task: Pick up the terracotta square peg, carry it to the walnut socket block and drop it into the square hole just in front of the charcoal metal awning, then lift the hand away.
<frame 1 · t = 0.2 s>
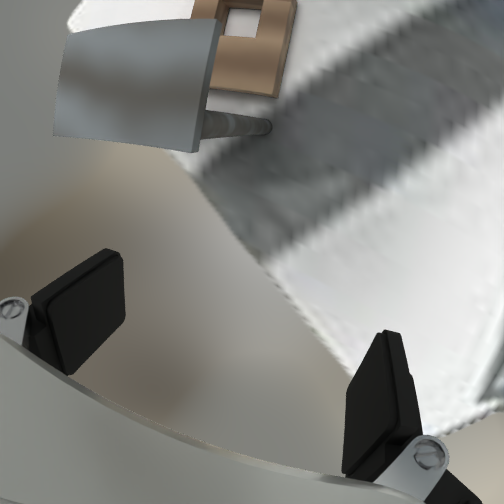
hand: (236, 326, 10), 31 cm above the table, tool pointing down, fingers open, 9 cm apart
socket block: (242, 42, 33), on the table
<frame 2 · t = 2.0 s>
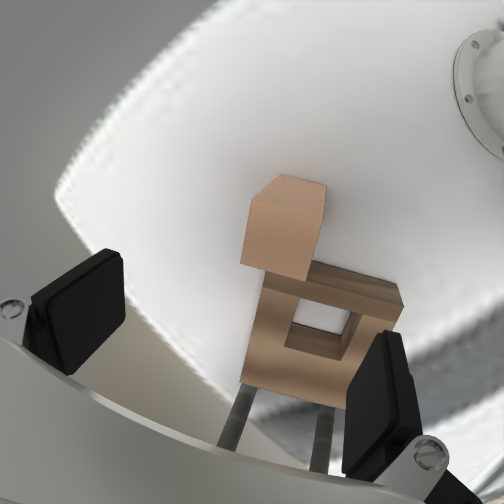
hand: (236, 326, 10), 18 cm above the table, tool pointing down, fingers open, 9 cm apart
socket block: (316, 327, 31), on the table
peg: (298, 201, 26), on the table
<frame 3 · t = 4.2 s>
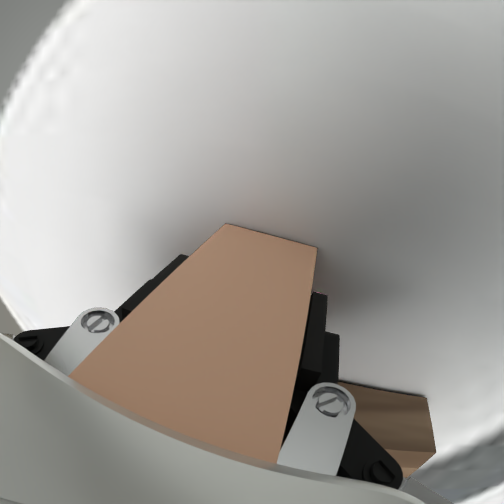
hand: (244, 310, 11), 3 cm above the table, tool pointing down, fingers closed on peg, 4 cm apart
socket block: (297, 443, 18), on the table
peg: (261, 276, 14), on the table, touching gripper
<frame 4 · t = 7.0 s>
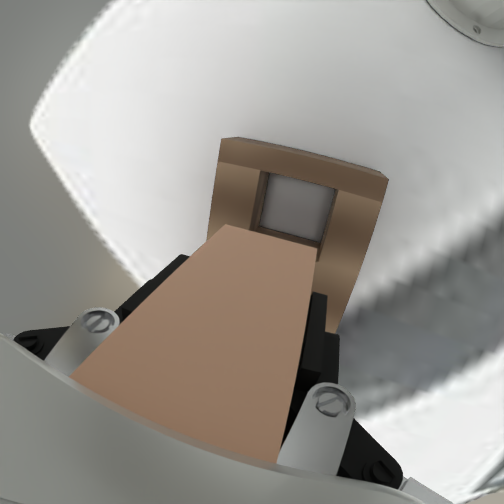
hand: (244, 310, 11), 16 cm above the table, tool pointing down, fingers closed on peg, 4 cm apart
socket block: (290, 231, 26), on the table
peg: (261, 277, 14), point 13 cm above the table, touching gripper
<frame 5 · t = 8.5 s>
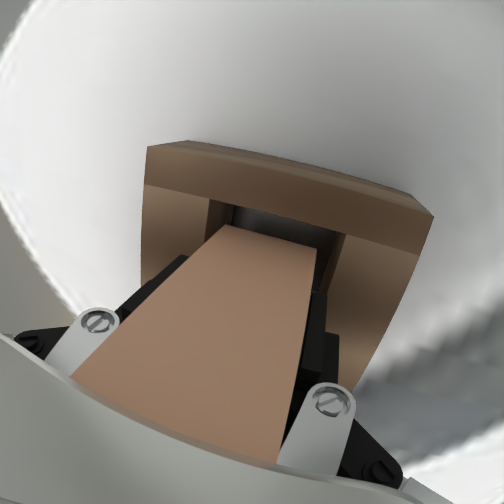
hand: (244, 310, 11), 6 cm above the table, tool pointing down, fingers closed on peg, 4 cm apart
socket block: (269, 282, 18), on the table
peg: (261, 277, 14), point 4 cm above the table, touching gripper
when the fingers open (5 cm above the table, at t = 9.9 s): peg drops 2 cm, resting in socket block.
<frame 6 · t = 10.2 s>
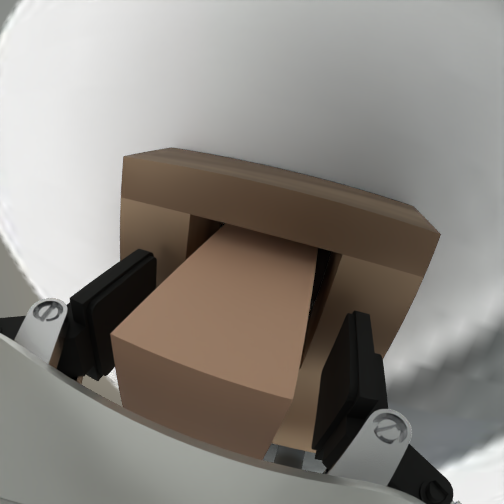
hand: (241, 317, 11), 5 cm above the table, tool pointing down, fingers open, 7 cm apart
socket block: (260, 300, 16), on the table
peg: (270, 258, 15), resting in socket block
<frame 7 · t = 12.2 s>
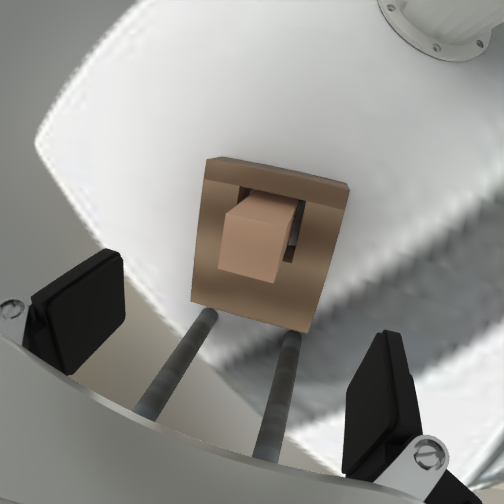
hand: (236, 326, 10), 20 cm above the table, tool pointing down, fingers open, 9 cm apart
socket block: (269, 238, 30), on the table
peg: (274, 213, 30), resting in socket block
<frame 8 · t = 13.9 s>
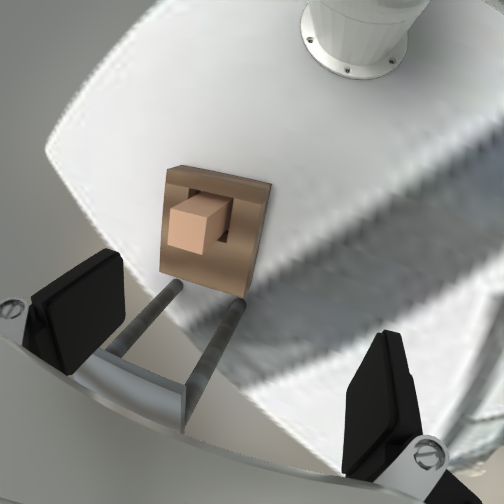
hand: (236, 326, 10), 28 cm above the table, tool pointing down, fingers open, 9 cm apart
socket block: (216, 225, 40), on the table
peg: (219, 207, 39), resting in socket block
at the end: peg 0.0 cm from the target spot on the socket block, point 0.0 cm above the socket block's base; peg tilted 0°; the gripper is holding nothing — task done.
